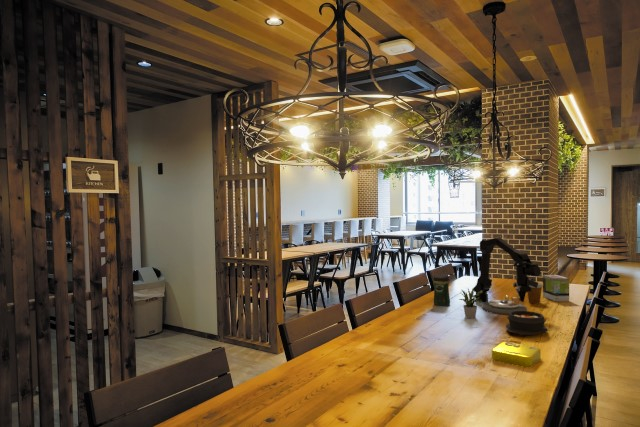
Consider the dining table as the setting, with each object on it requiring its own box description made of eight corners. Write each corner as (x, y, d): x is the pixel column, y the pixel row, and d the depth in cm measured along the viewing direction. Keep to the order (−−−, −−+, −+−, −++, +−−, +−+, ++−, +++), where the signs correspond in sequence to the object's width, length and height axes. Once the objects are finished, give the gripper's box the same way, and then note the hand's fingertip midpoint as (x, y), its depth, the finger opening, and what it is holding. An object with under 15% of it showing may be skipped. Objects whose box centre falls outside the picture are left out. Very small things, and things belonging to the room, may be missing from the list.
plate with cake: (494, 308, 248) (494, 300, 248) (485, 302, 264) (485, 295, 264) (529, 308, 248) (529, 300, 247) (517, 302, 264) (517, 294, 263)
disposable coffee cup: (539, 300, 278) (538, 281, 278) (545, 304, 268) (545, 284, 268) (523, 300, 279) (523, 281, 279) (529, 304, 269) (528, 284, 269)
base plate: (476, 311, 254) (476, 307, 254) (489, 303, 273) (489, 300, 273) (520, 316, 239) (520, 313, 239) (531, 308, 258) (531, 304, 258)
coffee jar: (451, 304, 272) (451, 274, 272) (447, 306, 266) (446, 276, 266) (436, 302, 278) (436, 273, 278) (431, 305, 272) (431, 275, 271)
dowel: (505, 303, 264) (504, 295, 264) (505, 302, 266) (505, 295, 266) (508, 303, 263) (508, 296, 263) (509, 302, 265) (509, 295, 264)
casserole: (541, 341, 196) (541, 322, 196) (498, 334, 208) (498, 316, 208) (553, 328, 215) (553, 311, 215) (513, 323, 227) (513, 306, 227)
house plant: (487, 321, 230) (487, 290, 230) (460, 320, 233) (459, 290, 233) (483, 315, 244) (482, 285, 244) (457, 314, 247) (456, 285, 247)
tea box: (570, 301, 275) (569, 277, 275) (553, 301, 275) (553, 278, 275) (557, 296, 290) (557, 274, 290) (542, 296, 290) (541, 274, 290)
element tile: (490, 360, 174) (490, 348, 174) (503, 351, 185) (503, 339, 185) (530, 369, 164) (530, 356, 164) (541, 358, 175) (541, 346, 175)
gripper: (541, 276, 242) (542, 305, 242) (532, 272, 260) (533, 299, 260) (519, 276, 245) (520, 304, 244) (512, 272, 263) (513, 298, 263)
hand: (522, 301), depth 253 cm, fingers closed
